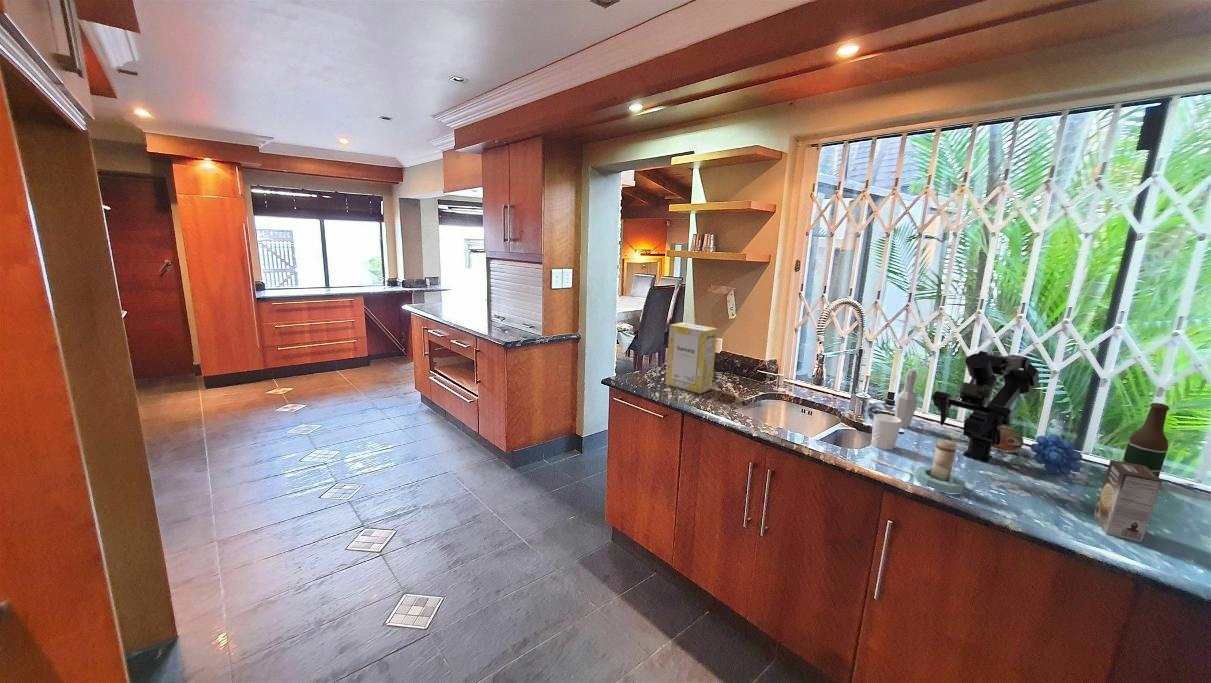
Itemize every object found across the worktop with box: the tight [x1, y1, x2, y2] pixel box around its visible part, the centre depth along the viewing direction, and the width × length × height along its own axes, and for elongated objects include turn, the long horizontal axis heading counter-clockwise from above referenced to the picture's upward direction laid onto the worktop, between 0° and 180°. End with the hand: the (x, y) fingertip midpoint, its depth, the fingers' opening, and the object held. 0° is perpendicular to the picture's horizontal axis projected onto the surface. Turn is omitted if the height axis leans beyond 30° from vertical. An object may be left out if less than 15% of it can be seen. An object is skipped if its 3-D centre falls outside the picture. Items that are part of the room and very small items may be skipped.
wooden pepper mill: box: [930, 439, 958, 482], centre depth 129 cm, size 4×4×12 cm
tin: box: [966, 425, 1024, 453], centre depth 157 cm, size 15×3×8 cm, turn 41°
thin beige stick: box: [871, 457, 916, 476], centre depth 139 cm, size 1×12×1 cm, turn 39°
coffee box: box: [1093, 459, 1163, 543], centre depth 110 cm, size 9×6×16 cm
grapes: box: [1030, 434, 1083, 477], centre depth 139 cm, size 12×7×12 cm, turn 44°
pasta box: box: [665, 322, 718, 395], centre depth 208 cm, size 18×10×28 cm, turn 50°
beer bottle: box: [1122, 402, 1170, 478], centre depth 136 cm, size 8×8×24 cm
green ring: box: [914, 466, 966, 494], centre depth 130 cm, size 11×11×2 cm
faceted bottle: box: [894, 368, 918, 429], centre depth 172 cm, size 6×6×22 cm
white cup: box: [870, 413, 901, 451], centre depth 154 cm, size 8×8×10 cm
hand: (959, 430), depth 135 cm, fingers open, 9 cm apart
